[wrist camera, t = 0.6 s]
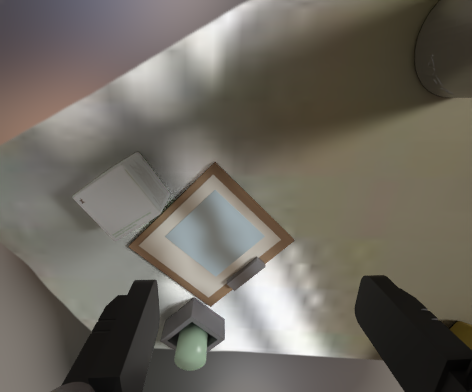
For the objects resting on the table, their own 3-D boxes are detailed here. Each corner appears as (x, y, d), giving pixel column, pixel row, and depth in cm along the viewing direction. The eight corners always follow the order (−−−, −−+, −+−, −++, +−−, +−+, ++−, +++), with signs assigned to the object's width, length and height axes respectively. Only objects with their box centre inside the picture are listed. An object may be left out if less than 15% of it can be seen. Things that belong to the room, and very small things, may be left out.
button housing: (194, 297, 32) (191, 316, 29) (224, 319, 34) (224, 339, 31) (165, 320, 33) (160, 341, 31) (196, 340, 35) (193, 361, 32)
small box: (131, 219, 28) (113, 244, 23) (95, 178, 26) (68, 195, 21) (173, 194, 27) (163, 214, 22) (139, 149, 25) (120, 161, 20)
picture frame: (215, 161, 26) (214, 165, 24) (293, 238, 30) (296, 244, 28) (129, 244, 29) (125, 250, 28) (210, 303, 33) (210, 311, 32)
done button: (193, 315, 31) (189, 344, 28) (213, 329, 32) (212, 359, 29) (174, 330, 32) (167, 360, 28) (194, 343, 33) (191, 374, 30)
